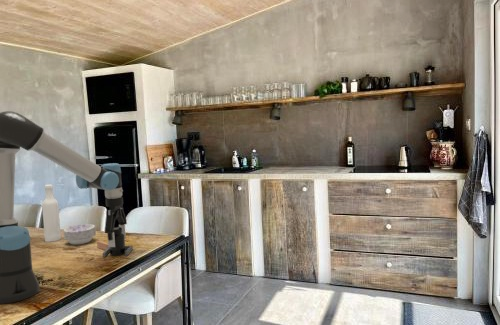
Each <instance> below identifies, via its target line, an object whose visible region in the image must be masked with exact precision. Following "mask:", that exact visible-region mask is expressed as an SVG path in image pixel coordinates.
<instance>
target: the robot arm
mask: <svg viewBox="0 0 500 325" xmlns="http://www.w3.org/2000/svg"><path fill="white" fill-rule="evenodd" d="M21 149H22V150H25V151H26V152H27V151H33V152H34V153H37V155H40V156H42V157H44V158H46V159H47V160H49V161H50V162H53V163H55V164H56V165H59V166H60V167H62V168H64V169H65V170H67V171H69V172H71V173H73V174H74V175H75V183H76V186H77V187H78V188H79V189H81V190H82V189H83V190H84V189H98V190H104V196H105V197H104V198H105V206H106V207H108V208H109V209H107V210H106V217H105V227H104V233H105V234H107V243H108V247H115V238H114V232H113V230H114V228H115V224H116V221H117V222H118V227H120V228H122V233H123V234H124V236H125V239H126V238H127V236H126V235H127V234H126V225H127V224H128V222H127V218H126V215H125V211H124V206H123V205H124V197H123V192H124V190H123V187H122V186H123V183H122V169H121V165H120V164H119V163H116V162H115V163H114V162H113V163H111V162H110V163H103V165H102V167H101V166H100V165H98V164H96V163H94V161H92V160H90V159H88V158H87V157H85V156H83V155H82V154H81V153H78V152H77V151H75V150H73V149H72V148H71V147H69V146H67V145H66V144H64V143H62V142H60V141H59V140H57V139H56V138H54V137H52V136H51V135H49V134H47V133H46V131H45V129H44V128H43V127H41V126H39V125H38V124H36V123H35V122H33V121H32V120H30V119H29V118H27V117H26V116H24V115H22V114H20V113H19V112H15V111H10V110H8V111H2V112H0V304H10V303H11V304H12V303H17V302H19V301H24V300H26V299H28V298H31V297H33V296H35V295H37V294H38V293H39V292H40V289H41V288H40V282H39V280H38V279H37V277H36V274H35V272H34V270H33V262H32V261H33V259H32V248H31V235H30V231H29V229H28V228H26V227H25V226H21V225H19V221H18V220H17V219H16V218H15V217H14V209H15V176H16V175H15V172H16V154H17V153H19V151H20V150H21Z"/></svg>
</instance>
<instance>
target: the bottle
mask: <svg viewBox="0 0 500 325" xmlns="http://www.w3.org/2000/svg"><path fill="white" fill-rule="evenodd" d="M44 192H45V198H44V200H42V203H41V204H42V205H41V208H42V220H43V233H44V234H43V235H44V241H45V242H46V243H47V242H48V243H52V242H57V241H61V239H62V234H61V224H60V223H61V222H60V211H59V210H60V209H59V202H58V200H57V199H56V198H55V197H54V186H53V184H45V185H44Z"/></svg>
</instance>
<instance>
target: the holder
mask: <svg viewBox="0 0 500 325" xmlns="http://www.w3.org/2000/svg"><path fill="white" fill-rule="evenodd" d="M96 245H97V249H101V250H104V251H103V252H102V258H105V257H107V256H108V255H109V254H110V247H108V242H105V241H102V240H97V241H96ZM133 247H134V246H133V245H125V253H124V256H125V257H128V256H129V255H130V253H131V252H132V251H133Z"/></svg>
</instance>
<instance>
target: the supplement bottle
mask: <svg viewBox="0 0 500 325" xmlns="http://www.w3.org/2000/svg"><path fill="white" fill-rule="evenodd" d="M113 232H114V238H115V247H110V252H109V254H110V256H112V257H113V256H114V257H117V256H121V255H125V251H126V250H125V246H126V241H125V240H126V238H125V236H124V234H123V233H122V228H120V227H119V226H117V227H114V230H113Z"/></svg>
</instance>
